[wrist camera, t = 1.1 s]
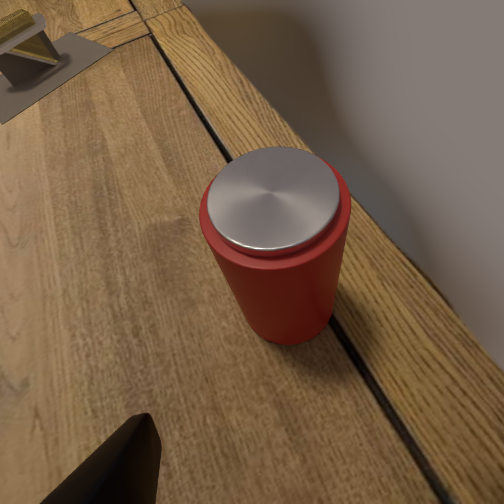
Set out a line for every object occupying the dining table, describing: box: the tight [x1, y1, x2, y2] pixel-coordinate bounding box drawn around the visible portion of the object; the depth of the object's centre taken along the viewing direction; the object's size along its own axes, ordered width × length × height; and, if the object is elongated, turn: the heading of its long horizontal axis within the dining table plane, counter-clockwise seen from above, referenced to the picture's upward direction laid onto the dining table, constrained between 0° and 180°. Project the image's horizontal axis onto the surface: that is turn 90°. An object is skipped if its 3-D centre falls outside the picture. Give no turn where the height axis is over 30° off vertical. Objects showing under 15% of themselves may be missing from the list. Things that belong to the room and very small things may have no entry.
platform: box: [0, 8, 113, 124], centre depth 43 cm, size 12×18×7 cm, turn 140°
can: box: [199, 147, 351, 345], centre depth 18 cm, size 6×6×12 cm
